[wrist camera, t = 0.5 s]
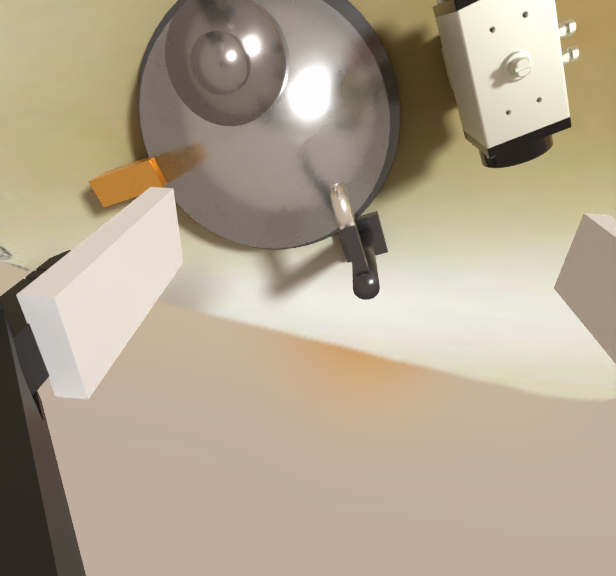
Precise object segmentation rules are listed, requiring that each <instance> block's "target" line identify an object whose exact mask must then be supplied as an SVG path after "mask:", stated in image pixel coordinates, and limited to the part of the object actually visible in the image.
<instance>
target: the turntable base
mask: <svg viewBox="0 0 616 576" xmlns="http://www.w3.org/2000/svg"><path fill="white" fill-rule="evenodd" d="M187 1H188V0H178V1H177V2H176V3H175V5H174V6H173V7H172V8H171V9H170V10H169V11H168V12H167V13H166V15H165V16H164V18H163V19H162V21H161V22H160V24H159V25H158V27H157V28H156V30H155V32H154V34H153V36H152V38H151V40H150V42H149V44H148V47H147V50H146V53H145V56H144V59H143V62H142V66H141V72H140V77H139V84H138V113H139V122H140V109H139V105H140V89H141V83H142V78H143V72H144V69H145V66H146V63H147V60H148V57H149V54H150V52H151V50H152V48H153V46H154V44H155V42H156V40H157V38H158V37H159V35H160V34H161V32H162V31H163V29H164V28H165V26H166V25H167V24H168V23H169V21H170V20H171V19H172V18H173V17H174V15H175V14H176V12H177V11H178V9H179V8H180V7H181V6H182V5H183V4H184V3H185V2H187ZM322 1H324V2H325V3H327V4H328V5H330V6H331V7H332V8H334V9H335V10H337V11H338V12H339V13H340V14H341V15H342V16H343V17H344V18H345V19H346V20H347V21H348V22H349V23H351V25H352V26H353V27H354V28H355V30H356V31H357V32H358V33H359V35H360V36H361V37H362V38H363V40H364V41H365V43H366V45H367V46H368V48H369V49H370V51H371V53H372V54H373V56H374V58H375V61H376V63H377V65H378V68H379V70H380V72H381V75H382V78H383V82H384V85H385V88H386V92H387V98H388V104H389V113H390V133H389V144H388V149H387V154H386V158H385V162H384V165H383V168H382V171H381V173H380V176H379V179H378V181H377V182H376V184H375V186H374V188H373V190H372V192H371V194H370V195H369V196H368V198H367V199H366V201H365V202H364V204H363V205H362V206H361V207H360V208H359V210H358V211H357V212H356V213H355V214H354V219H356V218H358V217H359V216H360V215H361V214H362V213H363V212H364V211H365V209H366V208H367V207H368V206H369V205H370V204H371V203H372V201H373V200H374V198H375V197H376V195H377V194H378V193H379V191H380V190H381V188H382V186H383V184H384V182H385V180H386V178H387V176H388V174H389V171H390V169H391V166H392V163H393V161H394V157H395V153H396V149H397V145H398V139H399V130H400V102H399V95H398V88H397V83H396V79H395V76H394V72H393V69H392V65H391V63H390V60H389V58H388V56H387V53H386V51H385V49H384V46H383V45H382V43H381V41H380V40H379V38H378V36H377V35H376V33H375V31H374V30H373V28H372V27H371V26H370V24H369V23H368V22H367V21H366V19H365V18H364V17H363V15H362V14H361V13H360V12H359V11H358V10H357V9H356V8H355V7H354V6H353V5H352V4H351V3H350V2H349V1H348V0H322ZM140 128H141V123H140ZM141 133H142V129H141ZM142 138H143V134H142ZM143 141H144V140H143ZM144 144H145V143H144ZM147 154H148V153H147ZM341 230H342V229H340V227H339V228H337V229H336V230H334V231H333V232H331V233H330V234H328V235H326V236H324V237H322V238H320V239H318V240H315V241H312V242H309V243H306V244H303V245H298V246H294V247H287V248H296V247H301V246H305V245H310V244H313V243H315V242H318V241H321V240H324V239H326V238H328V237H330V236H332V235H334V234H336V233H338V232H339V231H341ZM287 248H265V249H287Z"/></svg>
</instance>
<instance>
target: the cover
mask: <svg viewBox="0 0 616 576" xmlns="http://www.w3.org/2000/svg"><path fill="white" fill-rule="evenodd" d="M165 60H166V67H167V71H168V75H169V78H170V80H171V83H172V85H173V87H174V89H175V91H176V93H177V94H178V96H179V97H180V99H181V100H182V101H183V102H184V104H185V105H186V106H187V107H188V108H189V109H190V110H191V111H192V112H194V113H195V114H196V115H198V116H199V117H201V118H203V119H204V120H206V121H209V122H211V123H214V124H217V125H222V126H239V125H243V124H247V123H249V122H251V121H254V120H255V119H257V118H258V117H260V116H261V115H262V114H263V113H265V112H266V111H267V110H268V109H269V108H270V107H271V106H273V105H274V103H275V102H276V101H277V100H278V98H279V97H280V95H281V94H282V92H283V90H284V88H285V85H286V82H287V79H288V74H289V51H288V46H287V42H286V39H285V36H284V34H283V31H282V30H281V28H280V26H279V24H278V23H277V21H276V20H275V18H274V17H273V16H272V15H271V14H270V13H269V12H268V11H267V10H266V9H265V8H264V7H263V6H261V5H260V4H258V3H257V2H255V1H253V0H188V1H187V2H185V3H184V4H183V5H182V6H181V7H180V8H179V9H178V11H177V12H176V14H175V15H174V17H173V19H172V21H171V23H170V26H169V29H168V32H167V36H166V42H165Z"/></svg>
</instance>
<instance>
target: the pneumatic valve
mask: <svg viewBox="0 0 616 576" xmlns="http://www.w3.org/2000/svg"><path fill="white" fill-rule="evenodd" d="M437 3H438V5H435V6H433V10H434V14H435V18H436V22H437V26H438V30H439V34H440V38H441V42H442V46H443V47H441V51H442V55H443V59H444V63H445V67H446V71H447V75H448V79H449V83H450V87H451V90H453V91H454V95H455V99H456V103H457V107H458V111H459V115H460V119H461V123H462V127H463V131H464V135H465V138H466V139H467V140H468V141H469V142H470V143H472V145H474V146H475V147H476V148H478V149H479V153H480V157H481V161H482V164H483V165H484V166H485V167H488V168H503V167H509V166H514V165H518V164H521V163H524V162H527V161H530V160H532V159H535V158H537V157H539V156H541V155H542V154H544V153H545V152H547V151H548V150H549V149H550V148H551V147H552V145H553V139H552V134H554V133H558V132H560V131H562V130H565V129H567V128H570V127H571V119H570V111H569V104H568V96H567V88H566V81H565V73H564V65H566V64H568V63H569V61H570V62H574V61H576V60H577V59H578V58H579V50H578V47H577V46H576V45H572V46H570V47H568V49H567V50H566V49H563V50H561V42H560V40H562V39H563V38H565V36H567V37H569V36H571V35H573V34H574V33H575V31H576V23H575V21H574V19H571V18H569V19H567V20H565V22H564V23H558V19H557V11H556V4H555V0H437Z"/></svg>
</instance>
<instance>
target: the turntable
mask: <svg viewBox="0 0 616 576" xmlns="http://www.w3.org/2000/svg"><path fill="white" fill-rule="evenodd" d="M253 1H255V2H257V3H258V4H260V5H261V6H263V7H264V8H265V9H266V10H267V11H268V12H269V13H270V14H271V15H272V16H273V17H274V18H275V20H276V21H277V23H278V24H279V26H280V28H281V30H282V31H283V34H284V36H285V39H286V42H287V46H288V51H289V74H288V79H287V82H286V85H285V88H284V90H283V92H282V94H281V95H280V97H279V98H278V100H277V101H276V102H275V103H274V105H273V106H271V107H270V108H269V109H268V110H267V111H266V112H265V113H263V114H262V115H261V116H260V117H258V118H257V119H255V120H254V121H251V122H249V123H247V124H243V125H239V126H222V125H217V124H214V123H211V122H209V121H206V120H204V119H203V118H201V117H199V116H198V115H196V114H195V113H194V112H192V111H191V110H190V109H189V108H188V107H187V106H186V105H185V104H184V102H183V101H182V100H181V99H180V97H179V96H178V94H177V93H176V91H175V89H174V87H173V85H172V83H171V80H170V78H169V75H168V71H167V67H166V60H165V42H166V36H167V32H168V29H169V26H170V23H171V21H172V19H173V18H172V19H171V20H170V21H169V23H168V24H167V25H166V26H165V28H164V29H163V31H162V32H161V34H160V35H159V37H158V38H157V40H156V42H155V44H154V46H153V48H152V50H151V52H150V54H149V57H148V60H147V63H146V66H145V69H144V72H143V78H142V83H141V89H140V105H139V109H140V123H141V129H142V134H143V140H144V143H145V147H146V150H147V153H148V156H149V157H147V158H144V159H141V160H138V161H135V162H133V163H130V164H127V165H124V166H122V167H119V168H116V169H113V170H111V171H108V172H105V173H103V174H102V175H100V176H98V177H96V178H94V179H93V180H91V181H89V184H90V185H91V187H92V189H93V190H94V192H95V194H96V195H97V197H98V199H99V201H100V202H101V204H102V206H103V207H107V206H110V205H113V204H116V203H119V202H122V201H125V200H128V199H131V198H134V197H137V196H140V195H141V194H142V193H144V192H145V191H146V190H147V189H149V188H150V187H159V188H163V187H164V188H173V189H174V197H175V202H176V203H177V204H178V205H179V206H180V207H181V208H182V210H183V211H184V212H186V213H187V214H188V215H189V216H190V217H191V218H193V219H194V220H195V221H196V222H198V223H199V224H200V225H202V226H203V227H205V228H206V229H208V230H209V231H211V232H213V233H215V234H217V235H219V236H221V237H223V238H225V239H228V240H230V241H233V242H236V243H240V244H243V245H247V246H252V247H259V248H287V247H294V246H298V245H303V244H306V243H309V242H312V241H315V240H318V239H320V238H322V237H324V236H326V235H328V234H330V233H331V232H333V231H334V230H336V229H337V228H339V225H338V223H337V220H336V217H335V214H334V211H333V207H332V203H331V199H330V194H329V185H333V184H336V183H339V182H342V181H343V182H344V184H345V186H346V189H347V192H348V195H349V198H350V202H351V206H352V210H353V214H355V213H356V212H357V211H358V210H359V208H360V207H361V206H362V205H363V204H364V202H365V201H366V199H367V198H368V196H369V195H370V194H371V192H372V190H373V188H374V186H375V184H376V182H377V181H378V179H379V176H380V173H381V171H382V168H383V165H384V162H385V158H386V154H387V149H388V144H389V133H390V113H389V104H388V98H387V92H386V88H385V85H384V82H383V78H382V75H381V72H380V70H379V68H378V65H377V63H376V61H375V58H374V56H373V54H372V53H371V51H370V49H369V48H368V46H367V45H366V43H365V41H364V40H363V38H362V37H361V36H360V35H359V33H358V32H357V31H356V30H355V28H354V27H353V26H352V25H351V23H349V22H348V21H347V20H346V19H345V18H344V17H343V16H342V15H341V14H340V13H339V12H338V11H337V10H335V9H334V8H332V7H331V6H330V5H328V4H327V3H325V2H324V1H322V0H253Z"/></svg>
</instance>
